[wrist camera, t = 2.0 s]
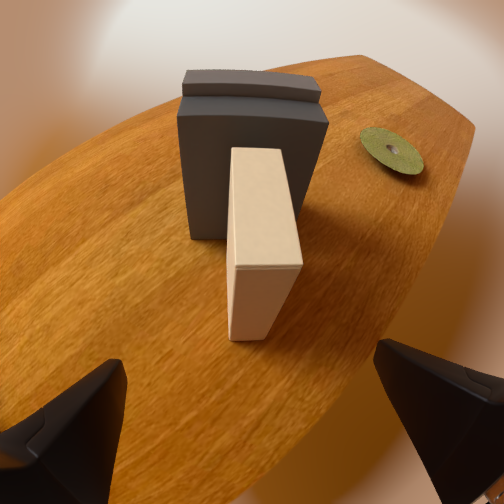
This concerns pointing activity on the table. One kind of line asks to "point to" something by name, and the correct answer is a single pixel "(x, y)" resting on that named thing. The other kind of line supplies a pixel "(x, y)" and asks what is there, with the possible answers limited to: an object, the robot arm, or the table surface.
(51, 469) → the robot arm
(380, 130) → the green disc
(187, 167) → the grey books
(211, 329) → the table surface
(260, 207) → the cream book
